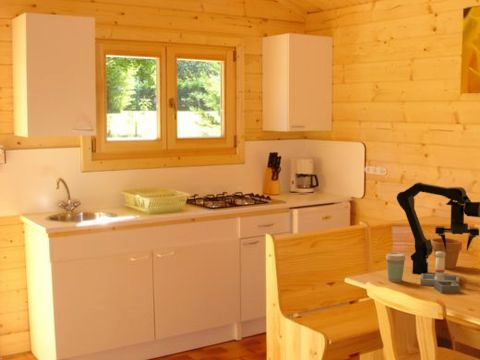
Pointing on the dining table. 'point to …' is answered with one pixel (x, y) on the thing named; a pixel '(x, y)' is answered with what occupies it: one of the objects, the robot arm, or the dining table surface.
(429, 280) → the tray
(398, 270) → the coffee cup
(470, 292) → the dining table surface
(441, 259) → the fuse
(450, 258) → the flower pot
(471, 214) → the robot arm
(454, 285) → the clip block
